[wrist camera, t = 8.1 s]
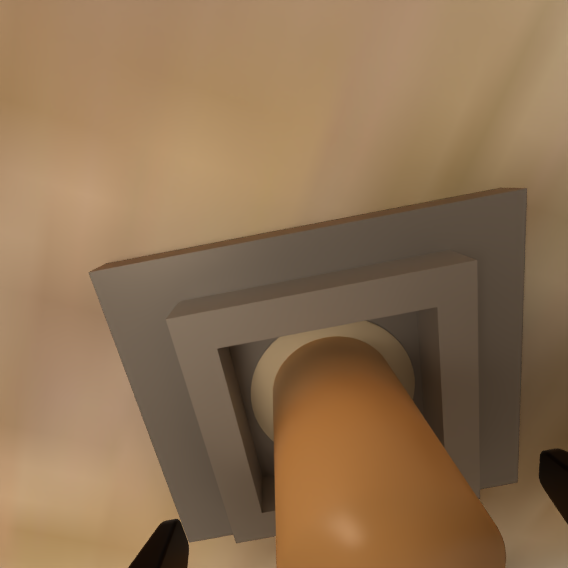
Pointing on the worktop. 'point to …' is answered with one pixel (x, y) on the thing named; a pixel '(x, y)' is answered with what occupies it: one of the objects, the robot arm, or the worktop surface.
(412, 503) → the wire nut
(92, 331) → the worktop surface
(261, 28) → the worktop surface
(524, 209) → the plate
